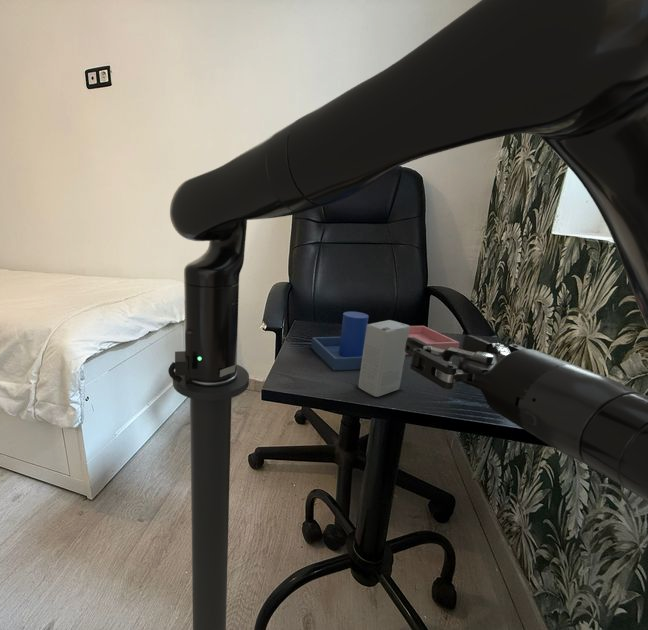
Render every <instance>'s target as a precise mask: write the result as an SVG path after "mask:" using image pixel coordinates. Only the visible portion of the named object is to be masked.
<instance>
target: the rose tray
mask: <svg viewBox="0 0 648 630" xmlns="http://www.w3.org/2000/svg"><path fill="white" fill-rule="evenodd" d="M409 326H410V332H409V337H415V338H417V339H418V340H420V341H422V342H424V343H426V344H428V345H430V346H431V347H435V348H439V349H444V350H446V349H447V348H449V347H453V348H457V349H460V348H459V347H460V342H459V341H457V340H455V339H454V338H451V337H449V336H447V335H444V334H443V333H440V332H438V331H436V330H434V329H431V328H430V327H427V326H425V325H409ZM405 356H410V355H409V354H408V353H406V354H405Z"/></svg>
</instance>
